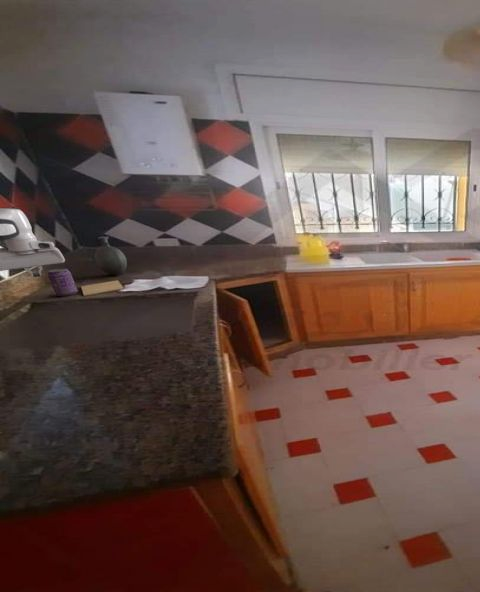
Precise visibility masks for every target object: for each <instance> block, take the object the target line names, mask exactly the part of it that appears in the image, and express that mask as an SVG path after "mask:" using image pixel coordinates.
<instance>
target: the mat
mask: <svg viewBox="0 0 480 592" xmlns="http://www.w3.org/2000/svg"><path fill="white" fill-rule="evenodd" d="M80 288H81V291H82V295H83V296H84V297H85V296H90V295H97V294H103V293H108V292H113V291H114V292H115V291H118V290H119V291H120V290H124V286H123V284H121V282H120V281H119V280H118V279H116V280H111V281H105V282H97V283H93V284H86V285H81V286H80Z"/></svg>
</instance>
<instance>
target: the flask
mask: <svg viewBox="0 0 480 592" xmlns="http://www.w3.org/2000/svg"><path fill="white" fill-rule="evenodd" d="M108 239H110V237H109V236H99V237H97V240H100V243H101V246H99V247H98V248H97V249H96V251H95V253H94V260H95V263H96V265H97V267H98V269H100V270H101V272H104V274H107V275H109V276H120V275H122V274H123V273H124V272H125V270H126V268H127V266H128V261H127V257H126V256H125V254H124V253H123V251H121V250H120V249H119V248H117V247H115V246H112V245H110V244H109V241H108Z"/></svg>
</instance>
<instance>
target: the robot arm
mask: <svg viewBox="0 0 480 592" xmlns="http://www.w3.org/2000/svg"><path fill="white" fill-rule="evenodd" d="M0 242H4V243H5V245H6V246H5V247H0V272H2V271H4V272H5V271H11V270H20V269H24V271H25V272H27V273H28V274H30V275H31V277H32V278H35V277H42V276H43V274H42V270H43V266H49V265H57V264H64V263H65V261H66V259H65V257H64V255H63V253H62V252H61V251H60V249H59V248H58V247H56V245H55V243H54V242H53V241H48V240H39V239H37V237H36V235H35V234H34V233H33V229H32V225H31V223H30V220H29V219H28V217H27V215H26V214H25V212H23V211H22V210H21V209H19V208H17V207H16V208H15V207H3V206H2V207H0ZM35 267H36V268H37V269H38V271H32V270H31V268H35Z"/></svg>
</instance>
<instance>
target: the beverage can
mask: <svg viewBox="0 0 480 592" xmlns="http://www.w3.org/2000/svg"><path fill="white" fill-rule="evenodd" d="M47 277H48V279H49V282H50V285H51V286H52V289H53V292H54V294H55V295H56V296H57V297H68V296H72V295H75V294H77V293H78V292H79V290H78V288H77V286H76V283H75V280H74V278H73V276H72V273H71V271H69V269H68V268H55V269H50V270H47Z"/></svg>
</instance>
